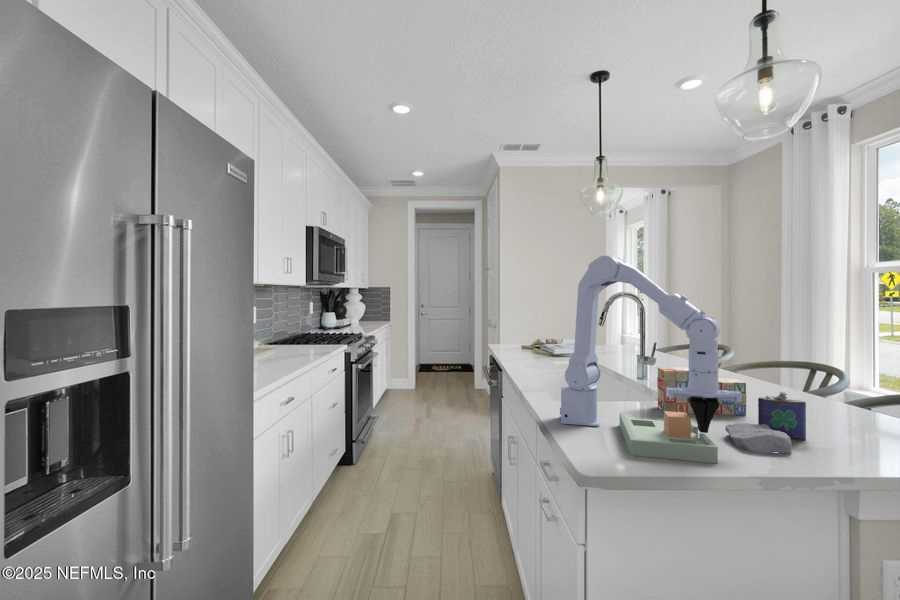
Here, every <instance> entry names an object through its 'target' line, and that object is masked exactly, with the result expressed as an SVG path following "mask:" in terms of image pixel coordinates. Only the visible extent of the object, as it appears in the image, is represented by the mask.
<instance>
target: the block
mask: <svg viewBox="0 0 900 600" xmlns="http://www.w3.org/2000/svg"><path fill="white" fill-rule="evenodd" d="M691 420H692V418H691V416H689V414H688V413H684V412H669V411H663V421H664V431H665V433H666V434H667V436H668V437H678V438H690V439H691Z"/></svg>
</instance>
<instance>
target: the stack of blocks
mask: <svg viewBox="0 0 900 600" xmlns="http://www.w3.org/2000/svg"><path fill="white" fill-rule="evenodd" d="M656 380H657V383H656V384H657V407H658V408H659V407H660V408H661V409H662V410H661V409H660V408H659V409H660V410H661V411H663V412H664V411H669V412H684V413H686V414H691V413H693V414H694V412H693V409H692V407H691V405H690V403H689V401H688V398H675V397H673V398H668V397H667V396H666V393H667V388H689V366H687V367H686V366H683V367H679V366H678V367H672V366H671V367H670V366H669V367H668V366H658V367H657V377H656ZM718 390H727V391H739V392H740V393H742V402H736V401H727V400H718V402H719V403H720V405H719V408H718V409H717V411H716V412H715V414H714V415H720V414H721V415H722V414H724V415H726V416H727V415H728V416H747V383H746V382H745V381H743V380H739V379H737V378H727V377H725V378H724V377H723V378H722V377H721V378H720V377H718ZM693 414H692V415H693ZM694 415H695V414H694Z"/></svg>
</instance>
